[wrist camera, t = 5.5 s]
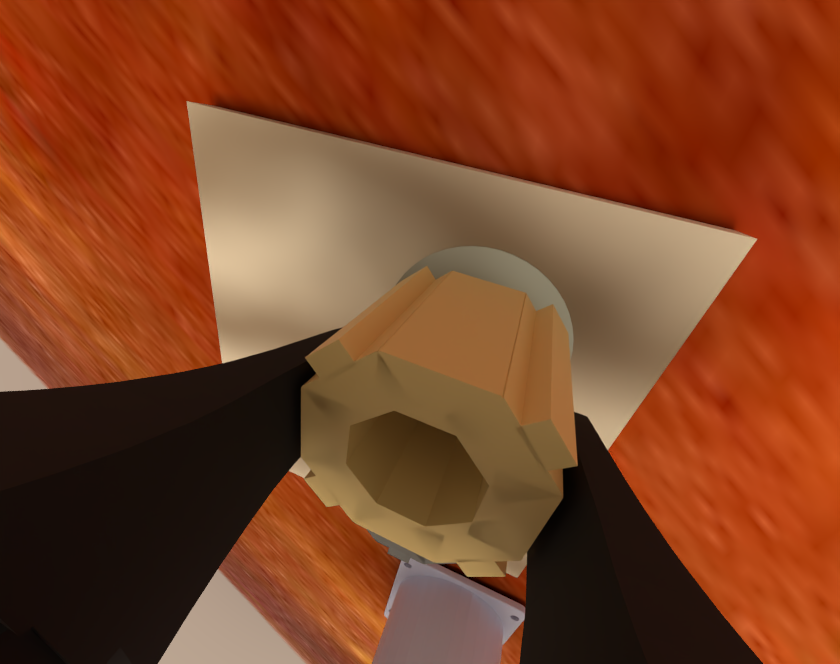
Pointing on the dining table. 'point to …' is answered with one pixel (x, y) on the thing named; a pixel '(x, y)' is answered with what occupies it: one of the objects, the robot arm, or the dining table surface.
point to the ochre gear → (444, 420)
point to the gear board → (442, 253)
